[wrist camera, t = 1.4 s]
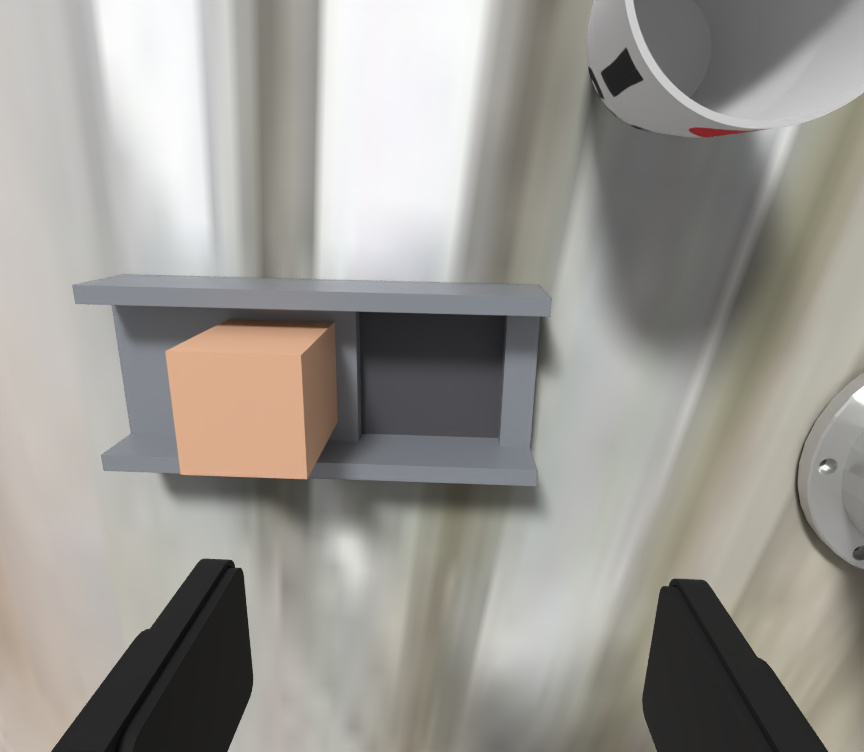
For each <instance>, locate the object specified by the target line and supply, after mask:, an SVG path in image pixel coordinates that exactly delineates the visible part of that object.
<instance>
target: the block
mask: <svg viewBox="0 0 864 752" xmlns="http://www.w3.org/2000/svg"><path fill="white" fill-rule="evenodd" d="M165 353H166V361H167V369H168V377H169V385H170V393H171V401H172V409H173V417H174V425H175V433H176V441H177V449H178V458H179V466H180V474H181V475H203V476H231V477H258V478H286V479H308V477H309V475H310V473H311V471H312V469H313V467H314V466H315V464H316V462H317V460H318V458H319V456H320V454H321V452H322V451H323V449H324V447H325V445H326V443H327V441H328V439H329V438H330V436H331V434H332V432H333V430H334V428H335V426H336V424H337V423H338V412H337V381H336V349H335V322H313V321H276V320H240V319H228V320H226V321H224V322H222V323H220V324H218V325H216V326H214V327H212V328H210V329H208V330H206V331H204V332H202V333H200V334H198V335H196V336H194V337H192V338H190V339H188V340H186V341H184V342H182V343H180V344H179V345H177V346H175V347H173V348H171V349H169V350H167V351H165Z"/></svg>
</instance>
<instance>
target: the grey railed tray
mask: <svg viewBox="0 0 864 752" xmlns="http://www.w3.org/2000/svg"><path fill="white" fill-rule="evenodd" d="M72 287H73V292H74V298H75V304H97V305H112V310H113V317H114V323H115V330H116V337H117V343H118V350H119V357H120V363H121V370H122V377H123V383H124V390H125V397H126V403H127V410H128V417H129V423H130V430H131V434H130V435H129V436H127V437H126V438H124V439H123V440H121V441H120V442H119V443H117V444H116V445H114V446H113V447H112V448H110V449H109V450H107V451H106V452H104V453H103V454H102V455H101V458H102V464H103V470H104V471H125V472H153V473H180V466H179V458H178V449H177V441H176V433H175V425H174V417H173V409H172V401H171V393H170V385H169V377H168V369H167V361H166V353H165V351H167V350H169V349H171V348H173V347H175V346H177V345H179V344H180V343H182V342H184V341H186V340H188V339H190V338H192V337H194V336H196V335H198V334H200V333H202V332H204V331H206V330H208V329H210V328H212V327H214V326H216V325H218V324H220V323H222V322H224V321H226V320H228V319H240V320H276V321H313V322H335V349H336V381H337V412H338V423H337V424H336V426H335V428H334V430H333V432H332V434H331V436H330V438H329V439H328V441H327V443H326V445H325V447H324V449H323V451H322V452H321V454H320V456H319V458H318V460H317V462H316V464H315V466H314V467H313V469H312V471H311V473H310V475H309V477H308V478H321V479H349V480H376V481H404V482H432V483H460V484H488V485H516V486H536V480H537V468H536V464H535V461H534V458H533V455H532V452H531V449H530V441H531V429H532V416H533V403H534V390H535V378H536V365H537V352H538V339H539V326H540V316H544V317H550V313H551V301H552V297H551V296H550V295H549V294H548V293H547V292H546V291H544V290H543V289H542V288H541V287H540V286H539V285H519V284H479V283H440V282H400V281H360V280H320V279H281V278H241V277H201V276H162V275H118V276H113V277H108V278H103V279H98V280H94V281H89V282H84V283H79V284H74V285H72Z"/></svg>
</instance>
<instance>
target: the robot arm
mask: <svg viewBox="0 0 864 752" xmlns="http://www.w3.org/2000/svg"><path fill="white" fill-rule="evenodd" d="M798 491H799V498H800V504H801V507H802V509H803V512H804V514H805V517H806V519H807V522H808V523H809V525H810V526H811V528H812V529H813V530H814V532H815V533H816V534H817V536H818V537H819V538H820V539H821V540H822V541H823V542H824V543H825V544H826V545H827V546H828V547H829V548H830V549H831V550H832V551H834V552H835V553H836V554H837V555H838V556H840V557H841V558H842V559H844V560H845V561H846V562H848V563H849V564H851V565H853V566H855V567H857V568H860V569H862V570H864V372H863V373H862V374H860V375H859V376H858V377H856V378H855V379H853V380H852V381H851V382H850V383H849V384H848V385H846V386H845V387H844V388H843V389H842V390H841V391H840V392H839V393H838V394H837V395H836V396H835V397H834V398H833V399H832V400H831V401H830V403H829V404H828V405H827V407H826V408H825V409H824V411H823V412H822V413H821V415H820V416H819V417H818V419H817V420H816V422H815V424H814V426H813V428H812V430H811V432H810V434H809V436H808V438H807V440H806V442H805V445H804V448H803V452H802V455H801V459H800V462H799V472H798ZM252 686H253V670H252V659H251V649H250V638H249V627H248V617H247V606H246V596H245V585H244V575H243V571H242V569H241V568H235V564H234V562H233V561H232V560H222V559H202V560H200V561H199V562H198V563H197V565H196V566H195V567H194V569H193V570H192V572H191V573H190V574H189V576H188V577H187V578H186V580H185V581H184V583H183V584H182V585H181V587H180V588H179V589H178V591H177V592H176V594H175V595H174V596H173V598H172V599H171V600H170V602H169V603H168V605H167V606H166V607H165V609H164V610H163V612H162V613H161V614H160V616H159V617H158V618H157V620H156V621H155V623H154V624H153V625H152V627H151V628H150V629H146V630H144V631H142V632H141V633H140V634H139V635H138V636H137V637H136V638H135V639H134V641H133V642H132V644H131V645H130V646H129V648H128V649H127V650H126V652H125V653H124V654H123V656H122V657H121V658H120V660H119V661H118V662H117V664H116V665H115V666H114V668H113V669H112V670H111V672H110V673H109V674H108V676H107V677H106V679H105V680H104V681H103V683H102V684H101V685H100V687H99V688H98V689H97V691H96V692H95V693H94V695H93V696H92V697H91V699H90V700H89V701H88V703H87V704H86V705H85V707H84V708H83V709H82V711H81V712H80V713H79V715H78V716H77V718H76V719H75V720H74V722H73V723H72V724H71V726H70V727H69V728H68V730H67V731H66V732H65V734H64V735H63V736H62V738H61V739H60V740H59V742H58V743H57V744H56V746H55V747H54V748H53V750H52V751H51V752H227V751H228V749H229V746H230V744H231V742H232V739H233V737H234V734H235V732H236V730H237V727H238V725H239V722H240V720H241V718H242V715H243V713H244V711H245V708H246V706H247V703H248V701H249V698H250V696H251V692H252ZM642 703H643V712H644V716H645V720H646V723H647V725H648V728H649V731H650V733H651V736H652V739H653V742H654V744H655V747H656V750H657V752H828V751H827V749H826V748H825V746H824V745H823V743H822V742H821V740H820V739H819V737H818V736H817V734H816V733H815V731H814V730H813V729H812V727H811V726H810V724H809V723H808V721H807V720H806V718H805V717H804V715H803V714H802V712H801V711H800V709H799V708H798V707H797V705H796V704H795V702H794V701H793V699H792V698H791V696H790V695H789V693H788V692H787V690H786V689H785V687H784V686H783V685H782V683H781V682H780V680H779V679H778V677H777V676H776V674H775V673H774V671H773V670H772V669H771V667H770V666H769V665H768V664H767V663H766V662H765V661H764V660H762V659H760V658H758V657H757V656H756V654H755V653H754V651H753V650H752V648H751V647H750V645H749V644H748V642H747V641H746V639H745V638H744V636H743V635H742V633H741V632H740V630H739V629H738V627H737V626H736V624H735V623H734V621H733V620H732V618H731V617H730V615H729V614H728V612H727V611H726V609H725V608H724V606H723V605H722V603H721V602H720V600H719V599H718V597H717V596H716V594H715V593H714V591H713V590H712V588H711V587H710V585H709V584H708V583H707V582H706V581H704V580H694V579H672V580H671V582H670V584H669V586H663V587H662V588H661V589H660V593H659V599H658V605H657V612H656V618H655V624H654V630H653V636H652V642H651V648H650V654H649V660H648V666H647V672H646V678H645V685H644V691H643V698H642Z"/></svg>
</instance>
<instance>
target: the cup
mask: <svg viewBox="0 0 864 752" xmlns="http://www.w3.org/2000/svg"><path fill="white" fill-rule="evenodd" d="M586 53H587V63H588V69H589V73H590V76H591V79H592V82H593V85H594V87H595V89H596V91H597V93H598V95H599V97H600V98H601V100H602V101H603V103H604V104H605V105H606V107H607V108H608V109H609V110H610V111H611V112H612V113H613V114H614V115H615V116H617V117H618V118H619V119H621V120H622V121H624V122H625V123H627V124H629V125H631V126H633V127H635V128H638V129H641V130H644V131H648V132H654V133H661V134H668V135H675V136H682V137H693V138H702V137H713V136H720V135H728V134H735V133H742V132H750V131H757V130H765V129H772V128H779V127H786V126H791V125H796V124H800V123H803V122H807V121H810V120H813V119H816V118H818V117H821V116H823V115H826V114H828V113H830V112H832V111H834V110H836V109H838V108H840V107H842V106H844V105H845V104H847V103H849V102H850V101H852V100H853V99H855V98H856V97H858V96H859V95H861V94H862V93H864V0H594V3H593V8H592V12H591V17H590V21H589V26H588V32H587V43H586Z"/></svg>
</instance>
